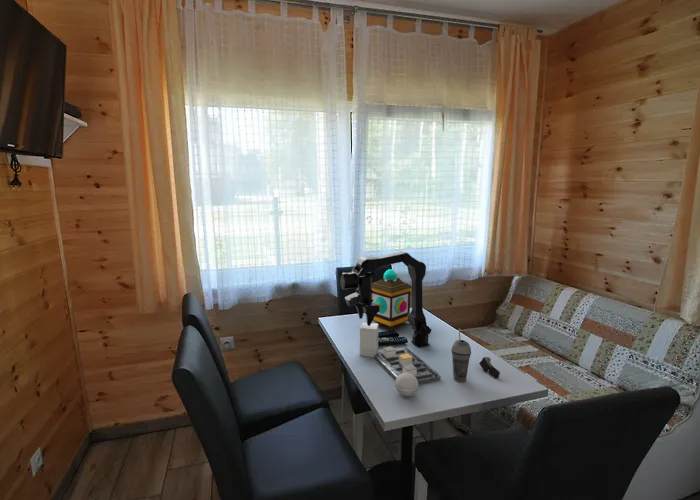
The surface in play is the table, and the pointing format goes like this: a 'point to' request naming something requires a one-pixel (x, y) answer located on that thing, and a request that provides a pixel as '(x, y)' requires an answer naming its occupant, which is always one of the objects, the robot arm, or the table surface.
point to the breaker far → (389, 352)
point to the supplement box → (368, 339)
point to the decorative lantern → (391, 300)
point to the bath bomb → (406, 384)
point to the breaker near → (410, 369)
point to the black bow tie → (489, 367)
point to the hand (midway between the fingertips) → (364, 322)
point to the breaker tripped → (405, 359)
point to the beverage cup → (460, 359)
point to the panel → (423, 369)
